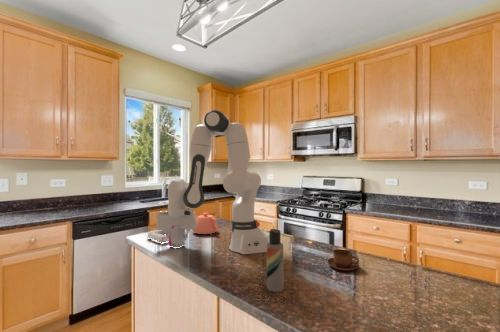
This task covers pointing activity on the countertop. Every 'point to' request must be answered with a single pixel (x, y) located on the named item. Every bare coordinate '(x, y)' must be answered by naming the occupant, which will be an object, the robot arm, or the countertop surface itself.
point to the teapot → (206, 224)
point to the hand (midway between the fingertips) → (177, 238)
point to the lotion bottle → (275, 262)
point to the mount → (159, 235)
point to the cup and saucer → (343, 260)
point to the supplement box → (176, 236)
